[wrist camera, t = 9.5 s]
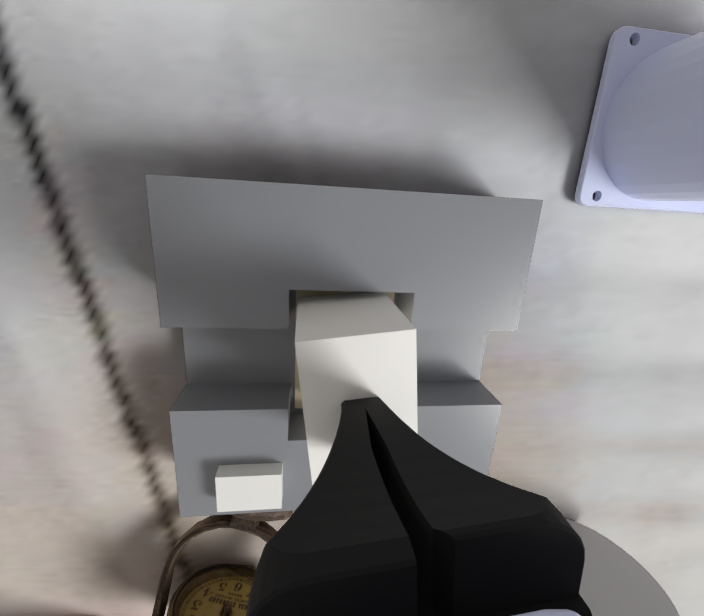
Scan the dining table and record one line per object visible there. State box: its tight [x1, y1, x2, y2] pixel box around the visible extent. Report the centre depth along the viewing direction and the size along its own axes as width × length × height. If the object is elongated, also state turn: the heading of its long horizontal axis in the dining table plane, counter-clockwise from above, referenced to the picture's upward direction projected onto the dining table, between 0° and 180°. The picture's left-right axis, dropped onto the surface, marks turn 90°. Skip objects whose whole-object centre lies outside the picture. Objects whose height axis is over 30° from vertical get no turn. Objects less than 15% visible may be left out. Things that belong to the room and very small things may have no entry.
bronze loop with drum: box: [152, 511, 293, 616], centre depth 20 cm, size 7×13×10 cm
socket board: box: [145, 174, 543, 517], centre depth 18 cm, size 16×16×4 cm
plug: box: [295, 292, 418, 486], centre depth 15 cm, size 4×6×6 cm, turn 4°
